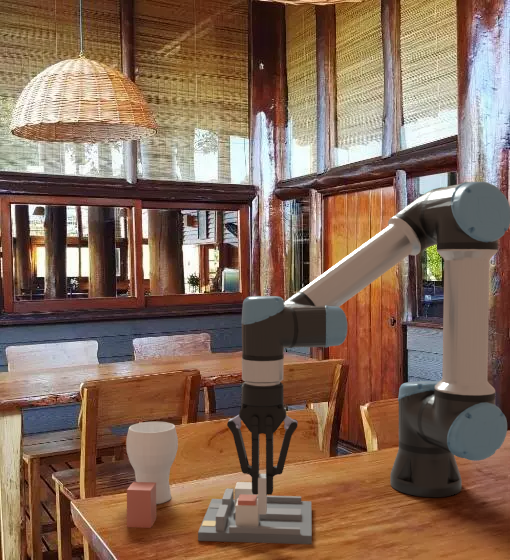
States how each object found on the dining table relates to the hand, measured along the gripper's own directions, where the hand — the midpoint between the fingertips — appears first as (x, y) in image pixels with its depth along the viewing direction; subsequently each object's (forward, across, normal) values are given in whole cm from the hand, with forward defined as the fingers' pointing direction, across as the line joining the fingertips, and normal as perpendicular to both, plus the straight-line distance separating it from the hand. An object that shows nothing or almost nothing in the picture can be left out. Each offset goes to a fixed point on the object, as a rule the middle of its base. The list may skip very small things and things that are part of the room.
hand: (262, 511), depth 123 cm
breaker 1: (+2, +4, -9) cm, 10 cm away
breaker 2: (+2, +3, 0) cm, 4 cm away
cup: (+4, +24, -17) cm, 30 cm away
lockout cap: (+4, +23, -4) cm, 24 cm away
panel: (+4, +2, -5) cm, 7 cm away
